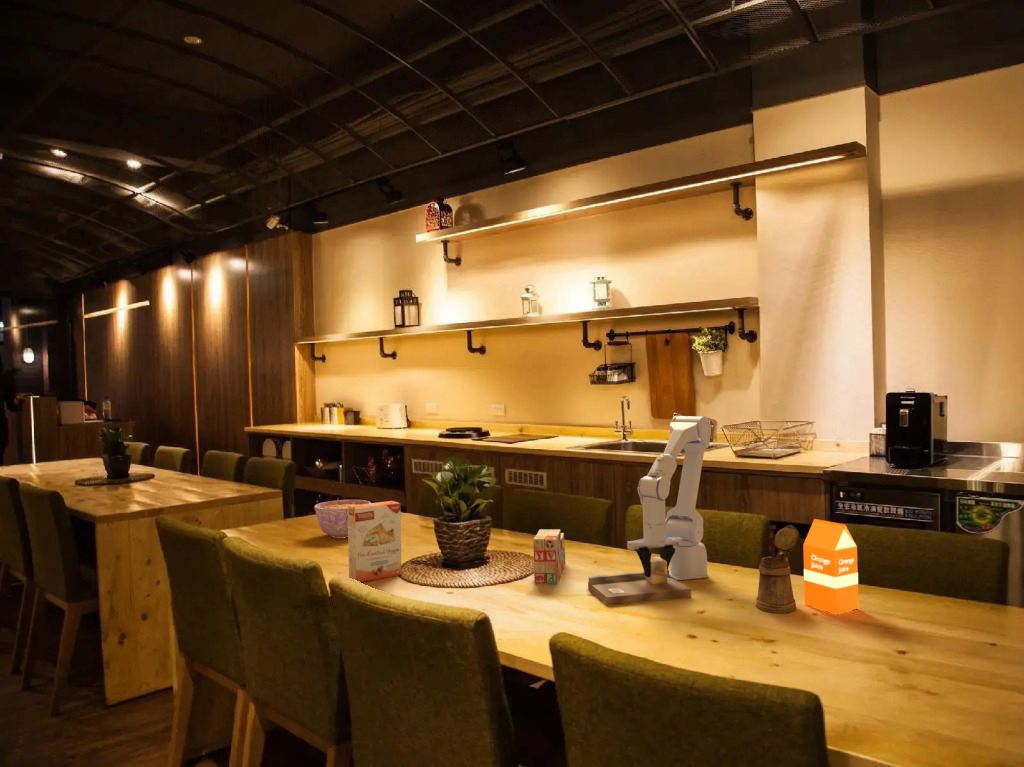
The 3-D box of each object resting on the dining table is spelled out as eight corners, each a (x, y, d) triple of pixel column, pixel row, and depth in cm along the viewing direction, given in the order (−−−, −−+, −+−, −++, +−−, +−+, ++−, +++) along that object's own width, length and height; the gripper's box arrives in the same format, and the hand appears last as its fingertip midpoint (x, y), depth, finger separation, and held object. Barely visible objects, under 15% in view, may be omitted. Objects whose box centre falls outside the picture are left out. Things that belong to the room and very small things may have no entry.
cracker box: (356, 584, 199) (354, 508, 199) (348, 579, 204) (346, 505, 204) (403, 575, 207) (401, 502, 207) (393, 571, 212) (391, 499, 212)
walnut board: (666, 582, 193) (666, 568, 193) (691, 597, 179) (690, 582, 179) (588, 589, 188) (587, 576, 188) (607, 605, 174) (606, 591, 174)
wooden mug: (812, 602, 173) (810, 527, 173) (784, 616, 164) (782, 536, 164) (776, 594, 179) (774, 522, 179) (748, 607, 170) (746, 531, 170)
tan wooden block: (659, 577, 190) (658, 556, 190) (667, 583, 185) (667, 561, 185) (644, 579, 189) (644, 558, 189) (653, 584, 184) (652, 562, 184)
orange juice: (836, 615, 163) (834, 526, 163) (804, 605, 171) (802, 520, 171) (859, 609, 167) (857, 522, 167) (826, 599, 175) (824, 516, 175)
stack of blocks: (544, 563, 216) (543, 522, 216) (565, 564, 215) (564, 522, 215) (534, 583, 195) (532, 538, 195) (557, 584, 194) (556, 538, 194)
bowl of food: (365, 541, 253) (364, 508, 253) (308, 542, 253) (307, 509, 253) (376, 529, 273) (375, 498, 273) (323, 530, 273) (322, 500, 273)
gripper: (634, 528, 182) (635, 582, 182) (687, 523, 185) (688, 577, 185) (623, 522, 189) (624, 574, 189) (675, 518, 192) (676, 570, 192)
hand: (655, 575), depth 187 cm, fingers closed on tan wooden block, 4 cm apart
